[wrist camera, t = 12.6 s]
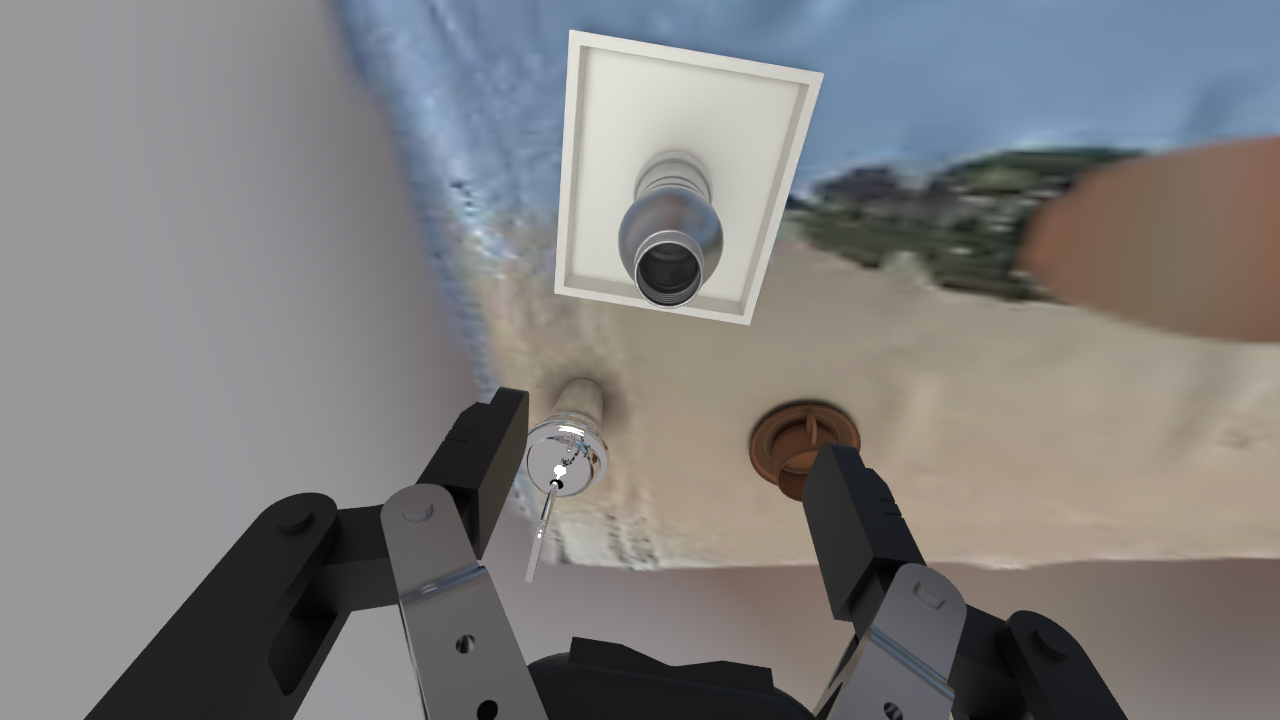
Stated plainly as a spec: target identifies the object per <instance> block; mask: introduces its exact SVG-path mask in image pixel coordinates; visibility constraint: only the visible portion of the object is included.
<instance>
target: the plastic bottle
mask: <svg viewBox="0 0 1280 720" xmlns="http://www.w3.org/2000/svg"><path fill="white" fill-rule="evenodd" d="M633 199H634V202H633V203H632V205H631V206H630V207H629V209H628V210H627V212H626V213H625V215H624V217H623V220H622V222H621V224H620V229H619V233H618V250H619V256H620V258H621V261H622V264H623V266H624V268H625V269H626V271H627V273H628V274H629V276H630V278H631V279H632V280H633V281H634V282H635V285H636V288H637V290H638V292H639V293H640V295H641V296H642V297H643V298H644V299H645V300H646V301H647V302H649V303H650V304H652V305H654V306H656V307H659V308H664V309H673V308H678V307H681V306H683V305H685V304H687V303H689V302H690V301H691V300H693V298H694V297H695V296H696V295H697V294H698V292H699V290H700V289H701V286H702V285H703V284H705V282H706V281H707V280H708V279H709V278H710V277H711V275H712V274H713V273H714V271H715V269H716V268H717V266H718V264H719V262H720V259H721V256H722V252H723V245H724V238H723V230H722V226H721V222H720V220H719V218H718V216H717V213H716V212H715V210H714V208H713V207H712V200H713V186H712V182H711V178H710V176H709V174H708V172H707V170H706V169H705V167H704V166H703V165H702V163H700V162H699V161H698V160H697V159H696V158H694V157H693V156H691V155H689V154H686V153H683V152H676V151H671V152H664V153H662V154H659V155H656V156H655V157H653V158H652V159H650V160H649V161H648V162H647V163H646V164H645V165H644V166H643V167H642V169H641V170H640V172H639V174H638V176H637V178H636V180H635V185H634V190H633Z"/></svg>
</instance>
